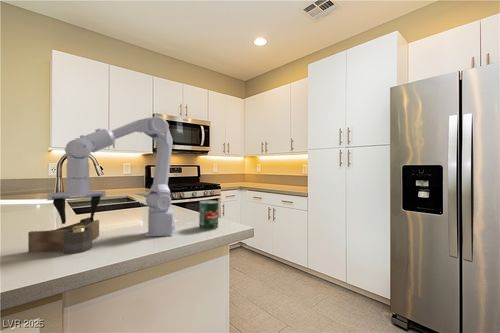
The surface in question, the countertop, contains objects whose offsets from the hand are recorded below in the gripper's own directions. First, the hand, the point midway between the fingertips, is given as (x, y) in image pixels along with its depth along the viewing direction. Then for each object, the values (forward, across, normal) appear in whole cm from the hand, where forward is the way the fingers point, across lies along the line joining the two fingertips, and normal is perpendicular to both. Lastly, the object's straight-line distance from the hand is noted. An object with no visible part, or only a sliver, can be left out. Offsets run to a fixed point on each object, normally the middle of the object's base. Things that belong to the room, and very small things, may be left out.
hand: (78, 221), depth 74 cm
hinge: (+9, +3, -6) cm, 11 cm away
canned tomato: (+9, -45, -4) cm, 46 cm away
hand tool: (+9, +3, -22) cm, 24 cm away
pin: (+9, 0, 0) cm, 9 cm away
